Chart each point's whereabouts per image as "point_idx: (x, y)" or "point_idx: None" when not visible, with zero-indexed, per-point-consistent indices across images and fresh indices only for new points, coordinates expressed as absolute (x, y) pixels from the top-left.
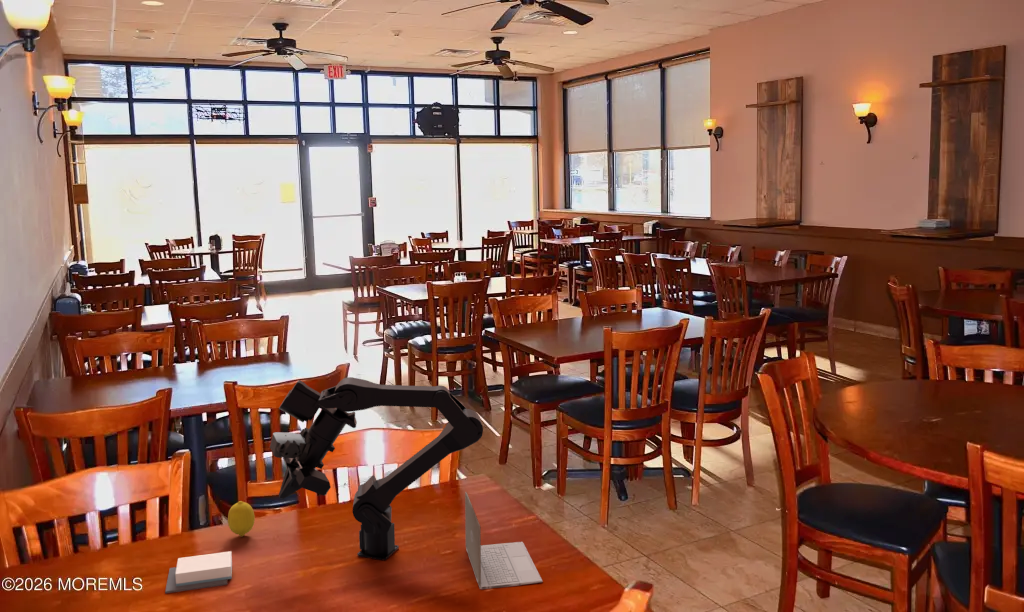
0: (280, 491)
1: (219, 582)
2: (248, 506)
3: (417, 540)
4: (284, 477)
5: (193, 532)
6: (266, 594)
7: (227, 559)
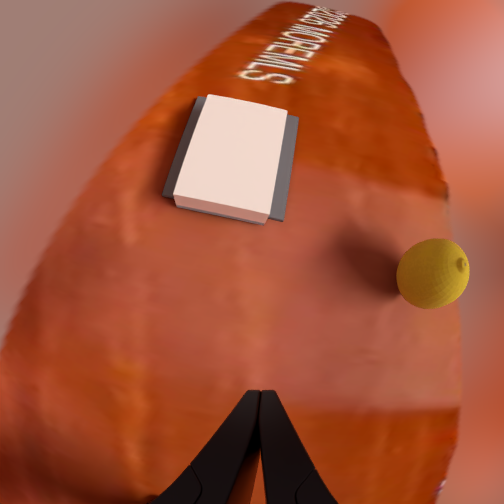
0: (267, 408)
1: (173, 180)
2: (448, 288)
3: None
4: (305, 484)
5: (441, 198)
6: (72, 263)
7: (220, 194)
